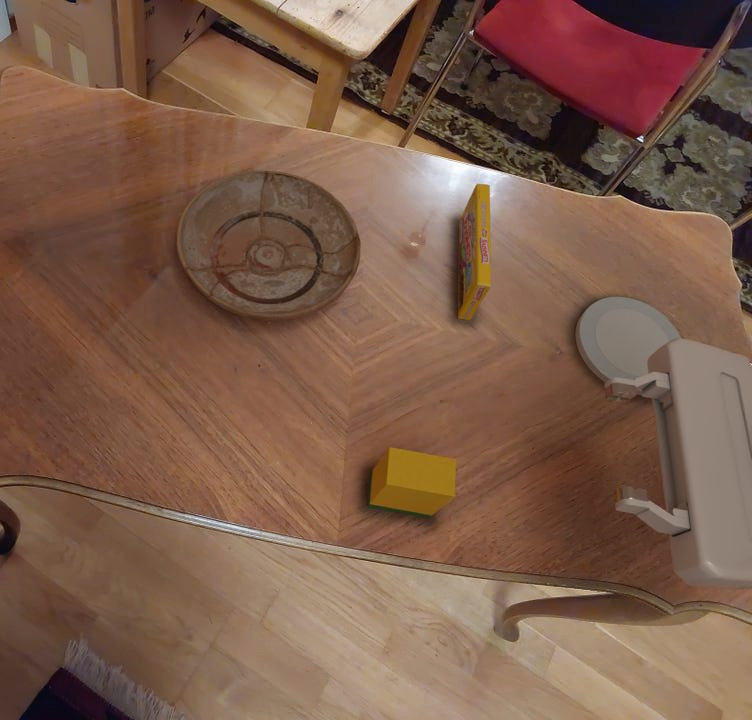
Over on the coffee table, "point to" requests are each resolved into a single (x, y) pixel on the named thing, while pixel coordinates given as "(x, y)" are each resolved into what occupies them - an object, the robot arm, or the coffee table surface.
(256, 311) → the ceramic bowl
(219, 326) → the coffee table surface
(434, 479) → the sponge
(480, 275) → the candy box
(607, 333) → the plate
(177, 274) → the coffee table surface
